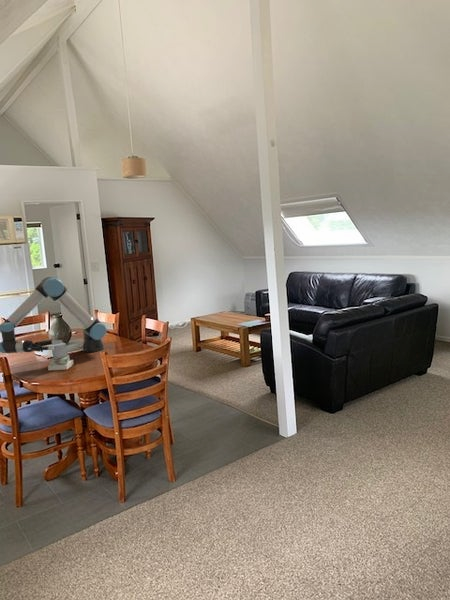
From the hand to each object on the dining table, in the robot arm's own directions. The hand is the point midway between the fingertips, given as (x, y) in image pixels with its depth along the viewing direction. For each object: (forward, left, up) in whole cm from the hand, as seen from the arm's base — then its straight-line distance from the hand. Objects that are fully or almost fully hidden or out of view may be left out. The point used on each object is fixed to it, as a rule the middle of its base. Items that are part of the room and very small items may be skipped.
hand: (57, 344), depth 288 cm
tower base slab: (0, 0, -15) cm, 16 cm away
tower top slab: (0, 0, -12) cm, 12 cm away
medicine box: (0, 0, -9) cm, 9 cm away
